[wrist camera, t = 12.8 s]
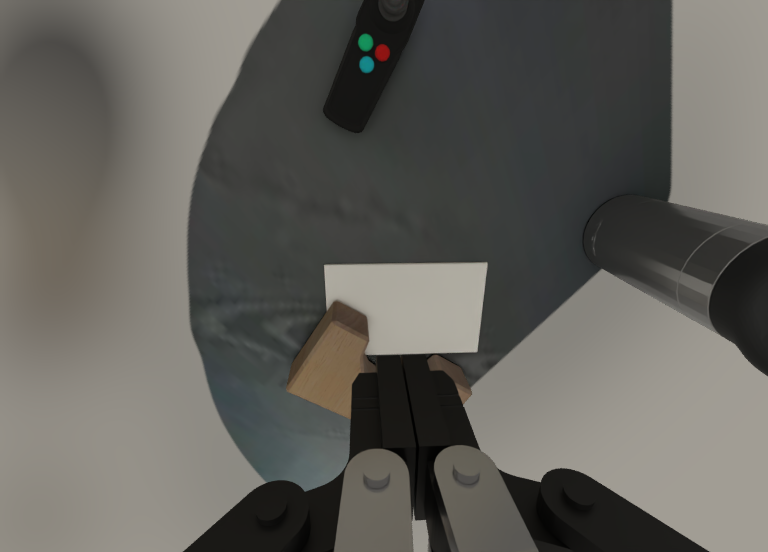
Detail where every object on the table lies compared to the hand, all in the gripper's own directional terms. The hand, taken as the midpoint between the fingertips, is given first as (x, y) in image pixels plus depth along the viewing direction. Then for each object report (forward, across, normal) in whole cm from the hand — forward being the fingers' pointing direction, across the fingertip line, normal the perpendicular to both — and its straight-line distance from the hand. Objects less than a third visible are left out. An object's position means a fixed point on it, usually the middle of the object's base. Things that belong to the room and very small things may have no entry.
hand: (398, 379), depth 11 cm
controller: (+32, 0, -13) cm, 35 cm away
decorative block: (+29, +8, +16) cm, 34 cm away
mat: (+32, -4, +14) cm, 35 cm away
